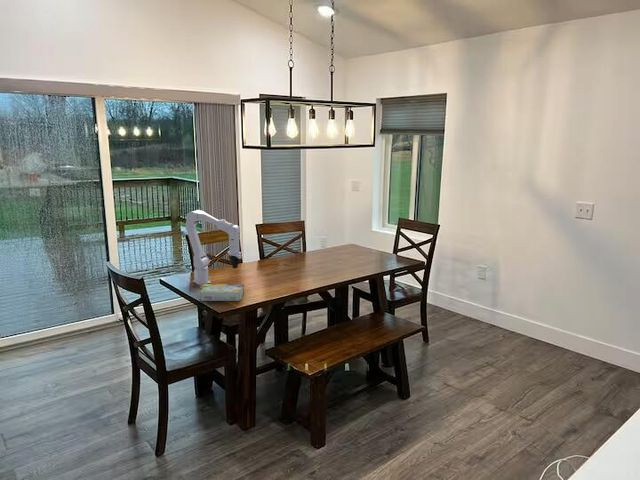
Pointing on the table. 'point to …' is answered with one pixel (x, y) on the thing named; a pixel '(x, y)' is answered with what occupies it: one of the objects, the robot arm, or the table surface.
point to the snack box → (222, 292)
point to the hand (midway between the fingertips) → (234, 268)
